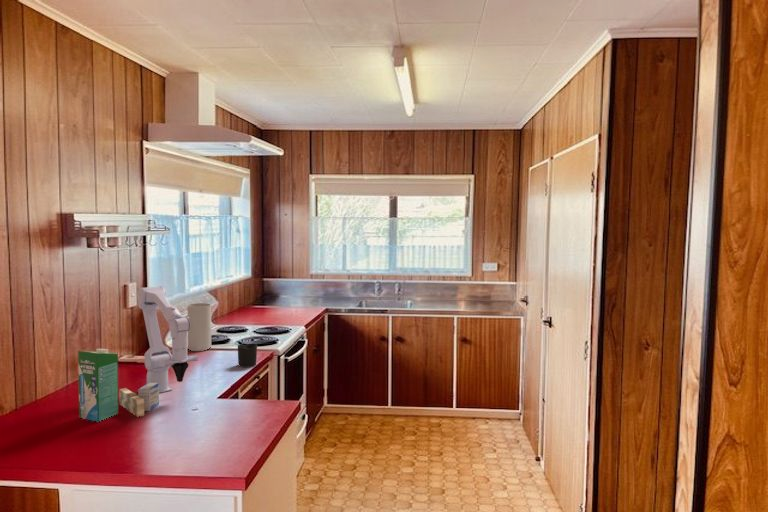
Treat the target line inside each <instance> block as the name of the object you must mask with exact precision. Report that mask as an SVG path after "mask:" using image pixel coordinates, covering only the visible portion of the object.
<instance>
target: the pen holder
mask: <svg viewBox="0 0 768 512" xmlns="http://www.w3.org/2000/svg"><path fill="white" fill-rule="evenodd" d="M257 355H258V345H257V344H256V343H249V344H238V345H237V358H238V359H237V360H238V361H237V363H238V364H239V365H240V366H252V367H254V366H253V365H255V366H256V365H257V359H258V357H257ZM239 365H238V366H239ZM240 366H239V367H240Z"/></svg>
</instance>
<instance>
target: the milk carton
mask: <svg viewBox="0 0 768 512" xmlns="http://www.w3.org/2000/svg"><path fill="white" fill-rule="evenodd" d="M77 353H78V355H77V357H78V358H77V361H78V362H77V363H78V369H77V370H78V418H83V419H88V420H92V421H91V422H94V421H96V422H95V423H99V421H100V422H102V421H101V420H103V421H105V420H107V419H110V418H112V417H115V416H117V415H119V358H118V357H119V354H118V353H116V352H115V353H114V352H109V349H108V348H96V350H94V351H93V350H78V351H77ZM116 414H117V415H116ZM114 415H115V416H114ZM111 416H112V417H111ZM109 417H110V418H109ZM106 418H107V419H106ZM83 419H82V420H83ZM104 419H105V420H104ZM88 420H87V421H88Z"/></svg>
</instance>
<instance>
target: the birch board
mask: <svg viewBox="0 0 768 512" xmlns="http://www.w3.org/2000/svg"><path fill="white" fill-rule="evenodd" d="M118 403H119V405H120V406H121V407H122V406H123V407H122V408H124V409H125V408H126V409H125V410H127V411H128V412H130V413H131V414H132V413H133V415H134V416H135V415H136V416H135V417H137V418H139V416H140V417H144V416H145V411H144V399H142V398H141V397H139V396H138V394H137V392H133V391H131V390H129V389H128V388H127V387H124V388H118Z"/></svg>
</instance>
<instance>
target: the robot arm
mask: <svg viewBox="0 0 768 512" xmlns="http://www.w3.org/2000/svg"><path fill="white" fill-rule="evenodd" d="M136 298H137V304H138V308H139V309H141V310H142V314H143V319H144V324H145V329H146V334H147V339H148V344H149V348H148V349H147V351H145V353H144V367H145V369H146V370H147V373H146V384H148V383H159V394H161V393H164V392H168V391H173V388H172V387H169V369H170V367H171V368H172V370H173V371H174V374H175V376H176V381H177V382H179V383H181V382H183V380H184V376H185V373H186V371H187V369H188V367H189V362H190V363H191V362H198V361H199V355H188V331H189V330H190V321H189V319H188V316H184V315H182V314H181V313H180V311H179V310H178V309H177V307H176V306H174V305H171V304H170V302H169V300H168V299H167V297H166V289H165V288H164V287H163V286H162V285H158V286H149V287H140V288H139V289H138V290H137V294H136ZM157 308H160V309H161V311H162V316H163V318H164V319H165V320H166V322H167V323H168V328H169V332H170V338H171V340H172V341H171V346H172V347H171V351H170V348H169V347H167V346H165V345H164V343H163V340H162V335H161V329H160V325H159V321H158V315H157Z"/></svg>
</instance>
